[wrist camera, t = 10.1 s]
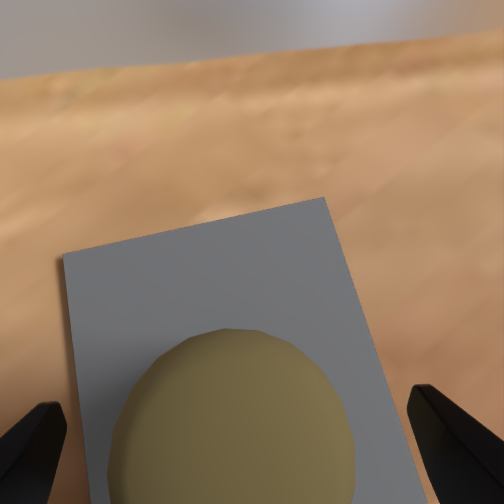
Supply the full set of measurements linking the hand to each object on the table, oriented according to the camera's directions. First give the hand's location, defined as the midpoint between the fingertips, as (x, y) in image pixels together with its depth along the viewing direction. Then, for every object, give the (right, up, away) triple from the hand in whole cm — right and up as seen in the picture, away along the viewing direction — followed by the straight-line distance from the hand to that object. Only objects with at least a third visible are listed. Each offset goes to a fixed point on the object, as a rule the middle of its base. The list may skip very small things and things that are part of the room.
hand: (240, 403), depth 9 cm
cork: (0, -3, +8) cm, 8 cm away
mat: (0, -3, +8) cm, 9 cm away
